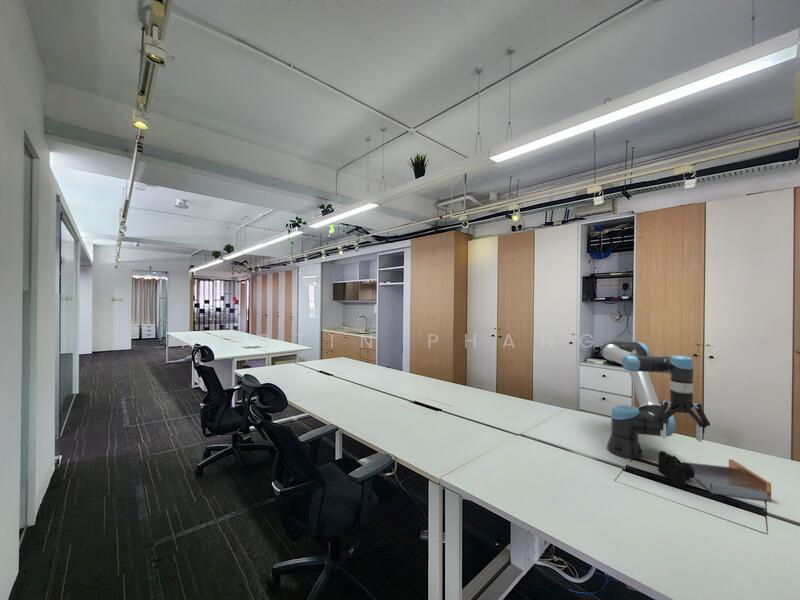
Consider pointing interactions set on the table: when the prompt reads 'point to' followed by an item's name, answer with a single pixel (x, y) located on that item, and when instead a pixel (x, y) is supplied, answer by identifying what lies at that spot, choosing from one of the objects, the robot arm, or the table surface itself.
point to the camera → (674, 469)
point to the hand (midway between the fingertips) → (680, 439)
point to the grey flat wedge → (732, 480)
